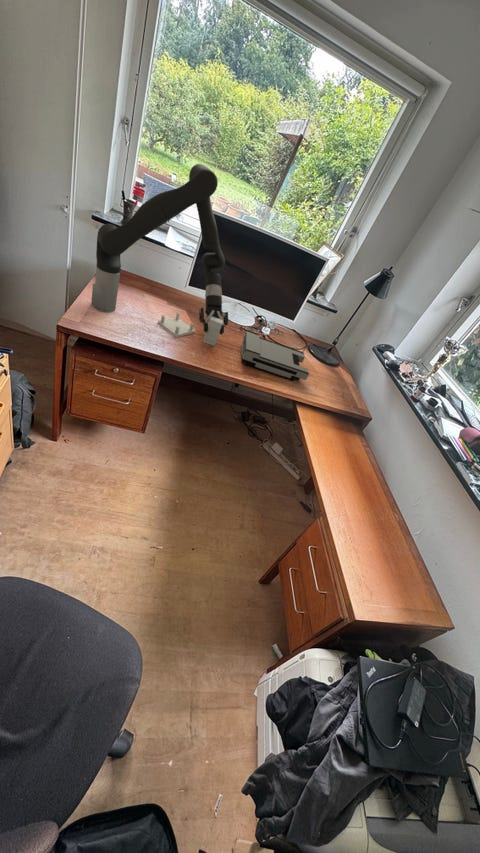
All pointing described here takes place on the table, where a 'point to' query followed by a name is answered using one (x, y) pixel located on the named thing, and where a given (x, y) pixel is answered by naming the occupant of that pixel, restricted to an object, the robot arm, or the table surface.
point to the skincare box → (213, 331)
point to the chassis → (176, 326)
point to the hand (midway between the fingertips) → (214, 333)
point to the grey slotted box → (272, 357)
